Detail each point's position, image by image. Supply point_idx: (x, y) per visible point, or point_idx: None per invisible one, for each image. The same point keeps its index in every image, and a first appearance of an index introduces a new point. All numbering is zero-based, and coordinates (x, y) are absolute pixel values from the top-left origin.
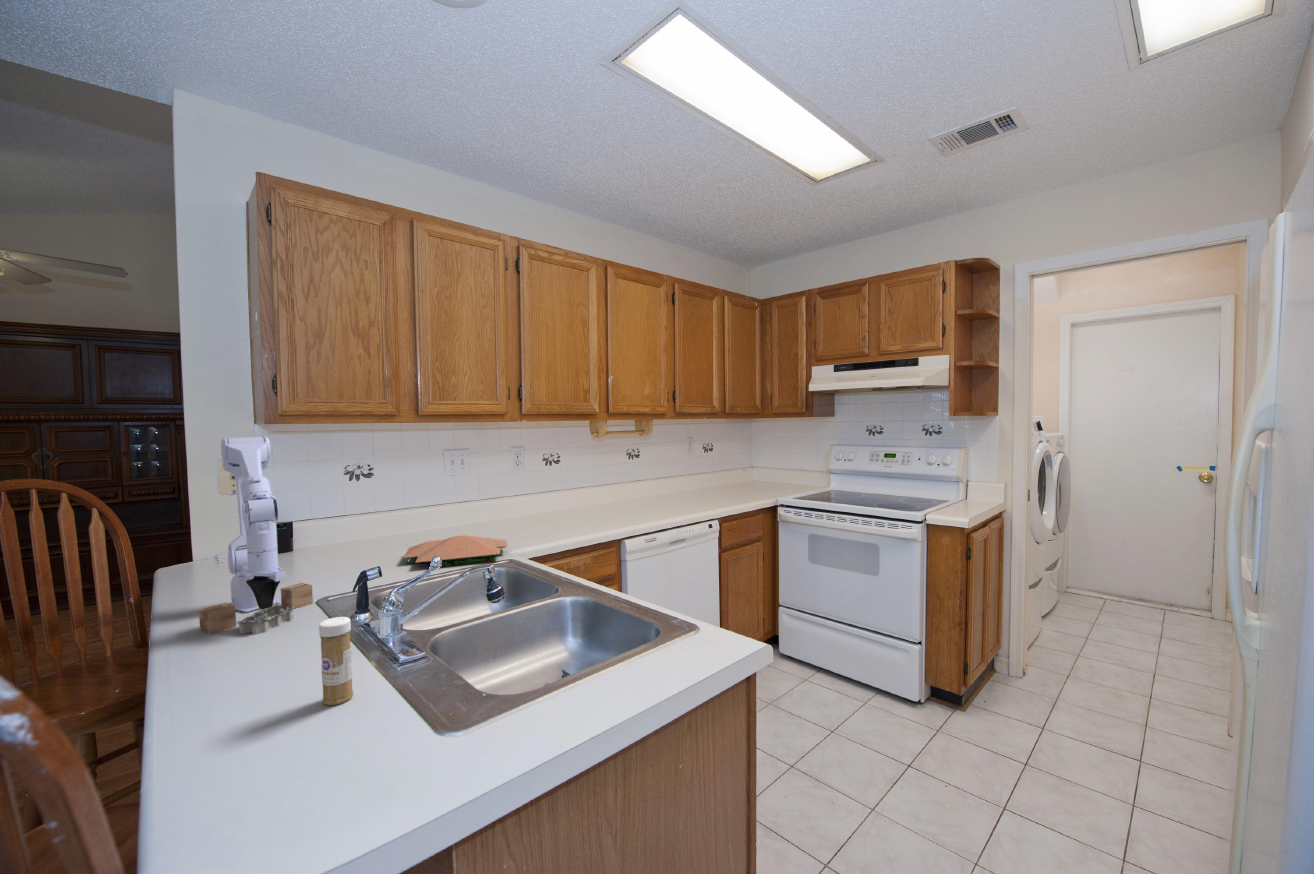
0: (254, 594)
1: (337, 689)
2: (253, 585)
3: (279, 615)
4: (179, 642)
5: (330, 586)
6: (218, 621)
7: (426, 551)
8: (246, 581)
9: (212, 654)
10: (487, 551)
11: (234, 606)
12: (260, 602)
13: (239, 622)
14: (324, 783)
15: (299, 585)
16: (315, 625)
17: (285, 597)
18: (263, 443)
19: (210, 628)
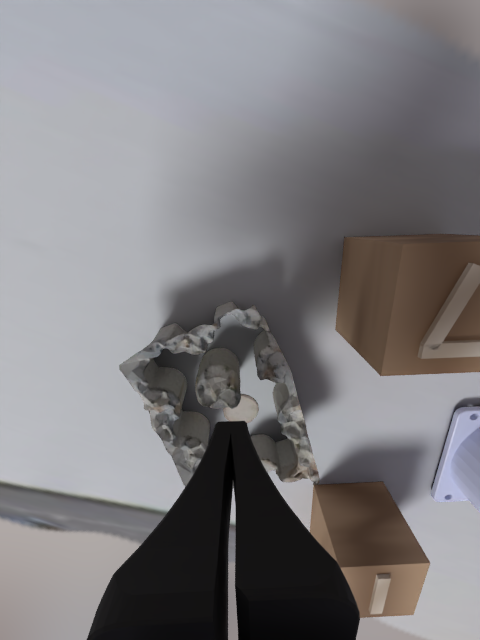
0: (262, 479)
1: None
2: (203, 560)
3: (163, 433)
4: (374, 109)
5: (419, 604)
6: (362, 278)
7: None
8: (322, 589)
9: (41, 124)
10: None
11: (378, 370)
12: (207, 446)
13: (244, 321)
14: None
15: (373, 602)
16: (66, 456)
17: (373, 523)
18: None
19: (354, 239)
